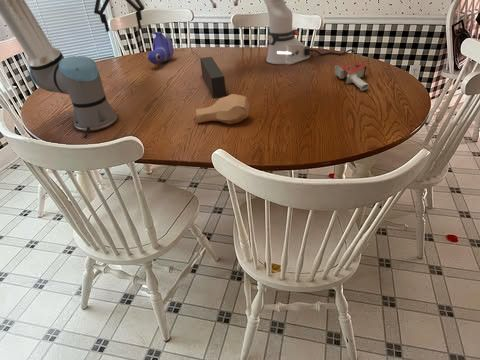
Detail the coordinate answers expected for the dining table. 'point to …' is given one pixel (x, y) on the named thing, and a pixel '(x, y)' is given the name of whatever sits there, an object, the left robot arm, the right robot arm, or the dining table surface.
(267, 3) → the right robot arm
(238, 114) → the squash
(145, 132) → the dining table surface
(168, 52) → the toy
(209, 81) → the bar
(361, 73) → the tape dispenser
